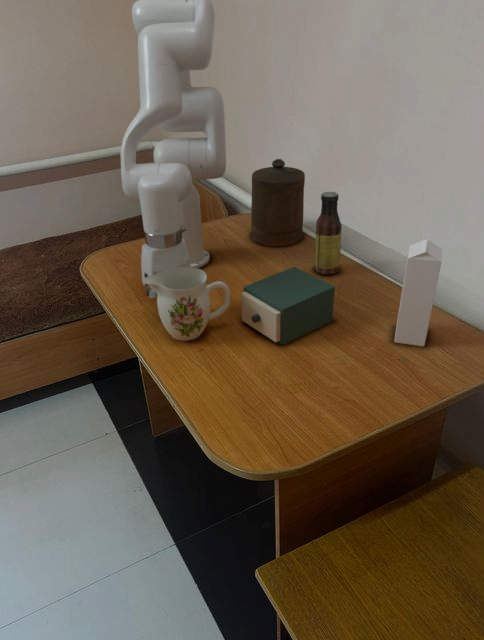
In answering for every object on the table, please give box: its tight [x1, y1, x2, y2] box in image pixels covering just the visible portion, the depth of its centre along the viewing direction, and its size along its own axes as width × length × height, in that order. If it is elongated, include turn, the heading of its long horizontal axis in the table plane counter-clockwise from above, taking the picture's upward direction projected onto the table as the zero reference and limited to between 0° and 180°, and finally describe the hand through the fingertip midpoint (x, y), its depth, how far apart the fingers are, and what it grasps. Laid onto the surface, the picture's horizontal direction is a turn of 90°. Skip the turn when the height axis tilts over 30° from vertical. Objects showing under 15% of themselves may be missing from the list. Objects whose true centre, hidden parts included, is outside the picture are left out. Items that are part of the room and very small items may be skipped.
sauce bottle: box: [314, 191, 342, 276], centre depth 132 cm, size 6×6×20 cm
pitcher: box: [141, 267, 231, 342], centre depth 112 cm, size 11×18×14 cm, turn 104°
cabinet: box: [243, 266, 336, 346], centre depth 116 cm, size 15×13×9 cm
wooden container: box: [250, 158, 306, 247], centre depth 151 cm, size 15×15×22 cm
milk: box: [393, 231, 443, 347], centre depth 105 cm, size 6×6×22 cm
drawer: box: [240, 291, 281, 343], centre depth 115 cm, size 15×11×7 cm
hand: (172, 313), depth 120 cm, fingers closed
